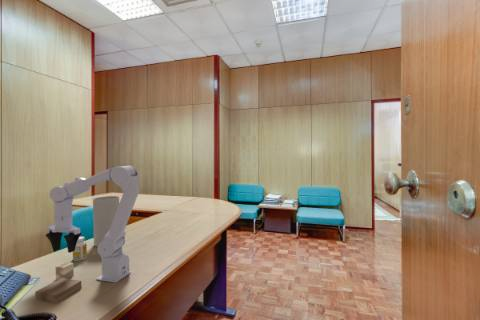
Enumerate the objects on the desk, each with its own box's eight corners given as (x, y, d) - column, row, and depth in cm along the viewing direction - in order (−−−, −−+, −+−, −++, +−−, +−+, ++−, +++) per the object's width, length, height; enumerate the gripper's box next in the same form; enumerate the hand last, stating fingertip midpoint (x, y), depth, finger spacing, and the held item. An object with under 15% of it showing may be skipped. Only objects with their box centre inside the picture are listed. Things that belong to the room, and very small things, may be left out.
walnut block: (81, 289, 84) (81, 280, 84) (56, 304, 75) (55, 295, 75) (62, 286, 86) (62, 277, 86) (35, 300, 78) (35, 291, 78)
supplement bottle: (84, 255, 113) (84, 235, 113) (88, 258, 109) (88, 237, 109) (71, 259, 109) (70, 238, 108) (74, 262, 105) (74, 240, 105)
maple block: (73, 275, 93) (73, 263, 93) (63, 280, 89) (63, 267, 89) (65, 274, 94) (65, 262, 94) (55, 279, 90) (55, 266, 90)
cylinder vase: (88, 245, 125) (87, 199, 125) (110, 238, 136) (109, 195, 136) (104, 249, 120) (103, 200, 119) (125, 241, 131) (124, 196, 131)
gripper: (38, 217, 90) (39, 252, 90) (67, 220, 86) (68, 256, 86) (57, 213, 96) (58, 246, 97) (84, 215, 93) (85, 249, 93)
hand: (64, 250), depth 92 cm, fingers open, 7 cm apart
